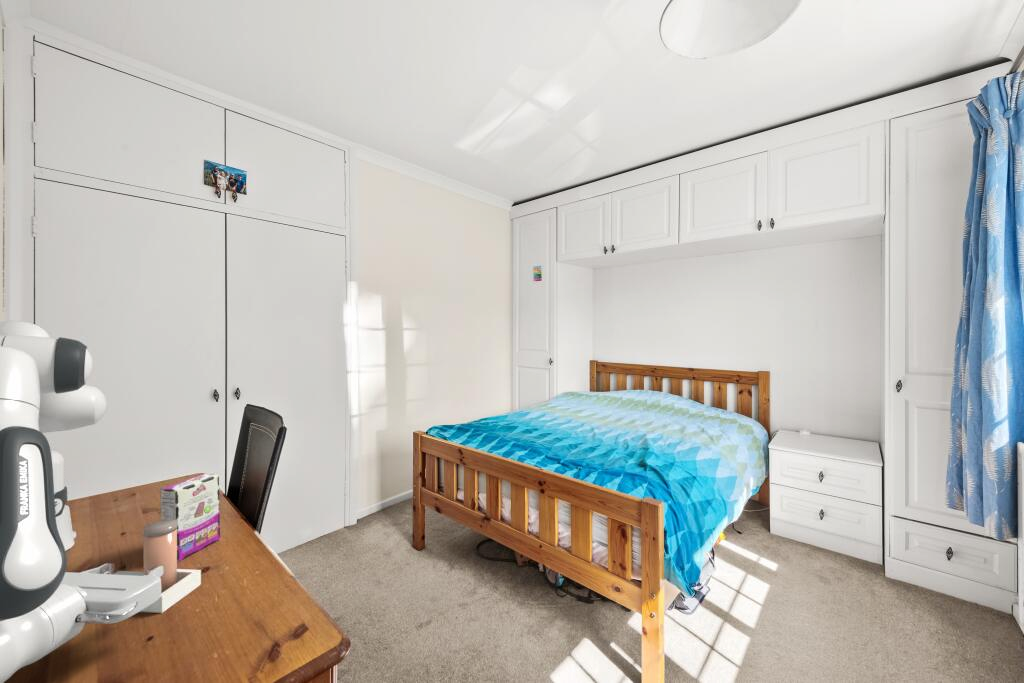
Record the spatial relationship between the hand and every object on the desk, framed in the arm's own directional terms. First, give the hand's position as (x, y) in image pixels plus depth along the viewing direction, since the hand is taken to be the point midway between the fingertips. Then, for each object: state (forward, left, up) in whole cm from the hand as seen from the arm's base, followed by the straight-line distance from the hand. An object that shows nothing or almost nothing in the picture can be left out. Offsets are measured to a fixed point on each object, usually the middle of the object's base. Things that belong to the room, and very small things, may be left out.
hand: (135, 568), depth 78 cm
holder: (0, +5, -8) cm, 10 cm away
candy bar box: (-9, +23, -9) cm, 26 cm away
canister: (0, +5, -8) cm, 10 cm away
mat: (-10, +6, -8) cm, 14 cm away
